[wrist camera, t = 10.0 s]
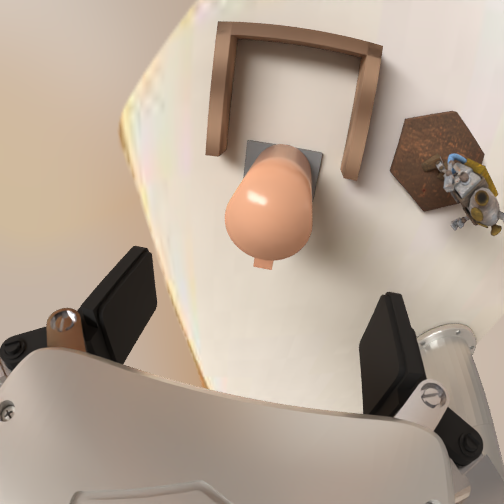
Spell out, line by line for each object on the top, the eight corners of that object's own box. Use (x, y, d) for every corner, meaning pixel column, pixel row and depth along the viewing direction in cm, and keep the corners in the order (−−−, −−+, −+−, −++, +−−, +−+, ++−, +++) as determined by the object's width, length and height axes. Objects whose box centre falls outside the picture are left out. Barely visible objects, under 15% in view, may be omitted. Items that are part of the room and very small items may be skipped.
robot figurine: (369, 148, 26) (407, 193, 16) (433, 86, 21) (504, 98, 11) (433, 224, 28) (479, 295, 18) (491, 171, 24) (557, 222, 14)
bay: (352, 171, 27) (356, 180, 25) (214, 148, 28) (205, 155, 26) (375, 49, 21) (382, 46, 18) (226, 26, 22) (218, 21, 19)
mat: (312, 201, 30) (312, 202, 29) (242, 188, 30) (242, 189, 30) (322, 152, 27) (322, 153, 27) (248, 140, 27) (247, 140, 27)
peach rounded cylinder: (315, 150, 27) (320, 190, 17) (301, 222, 31) (296, 291, 21) (256, 140, 27) (228, 174, 18) (248, 213, 31) (220, 276, 22)
